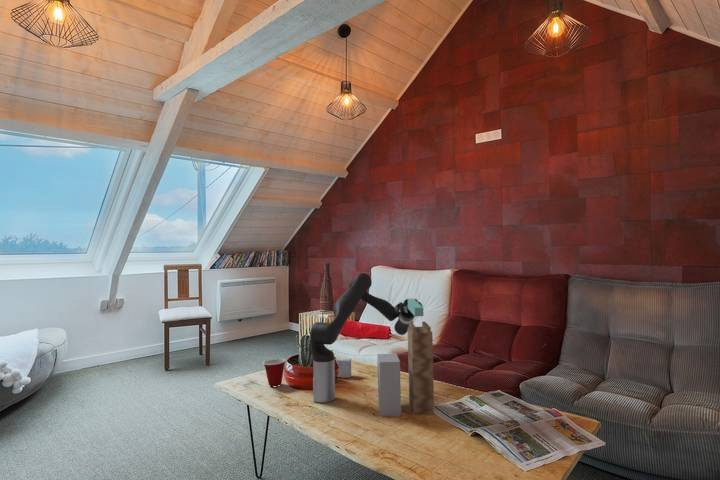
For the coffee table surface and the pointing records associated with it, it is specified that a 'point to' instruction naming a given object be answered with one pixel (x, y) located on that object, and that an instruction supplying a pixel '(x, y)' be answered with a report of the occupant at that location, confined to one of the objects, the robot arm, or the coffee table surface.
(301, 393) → the coffee table surface
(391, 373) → the tall gray pillar
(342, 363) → the medicine box
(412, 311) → the bar
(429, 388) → the post
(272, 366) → the plastic cup
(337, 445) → the coffee table surface
